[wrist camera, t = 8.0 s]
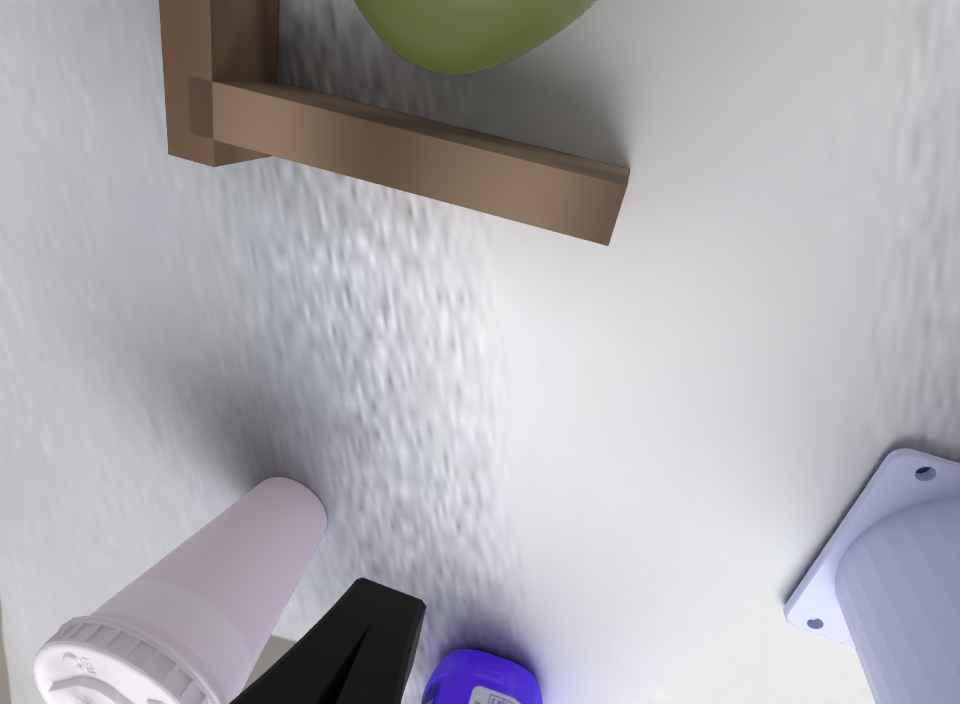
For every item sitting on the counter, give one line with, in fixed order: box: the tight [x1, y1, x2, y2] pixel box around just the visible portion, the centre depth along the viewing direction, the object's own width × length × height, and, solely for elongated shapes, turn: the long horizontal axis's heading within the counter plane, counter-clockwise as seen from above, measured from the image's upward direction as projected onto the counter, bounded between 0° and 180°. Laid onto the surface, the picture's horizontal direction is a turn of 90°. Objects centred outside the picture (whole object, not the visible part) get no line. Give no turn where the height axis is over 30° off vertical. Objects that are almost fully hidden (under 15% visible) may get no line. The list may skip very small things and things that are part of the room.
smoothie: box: [33, 477, 327, 704], centre depth 20 cm, size 6×6×14 cm
